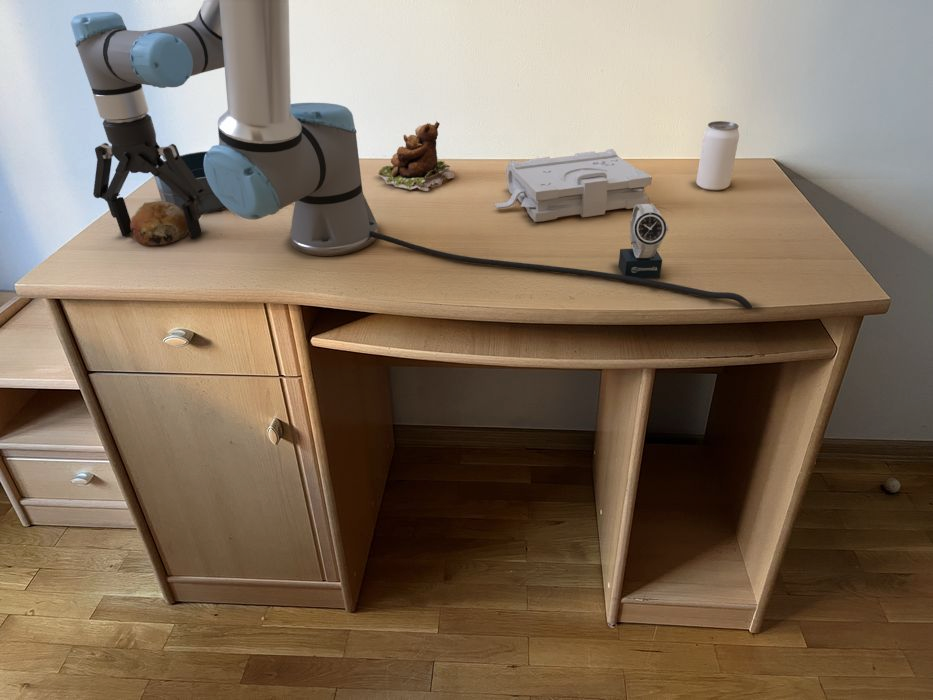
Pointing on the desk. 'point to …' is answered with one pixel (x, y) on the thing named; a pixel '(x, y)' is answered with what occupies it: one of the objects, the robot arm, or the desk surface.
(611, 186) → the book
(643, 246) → the watch
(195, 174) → the dark blue bowl
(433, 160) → the bear figurine
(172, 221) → the bread roll
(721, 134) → the can
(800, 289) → the desk surface
